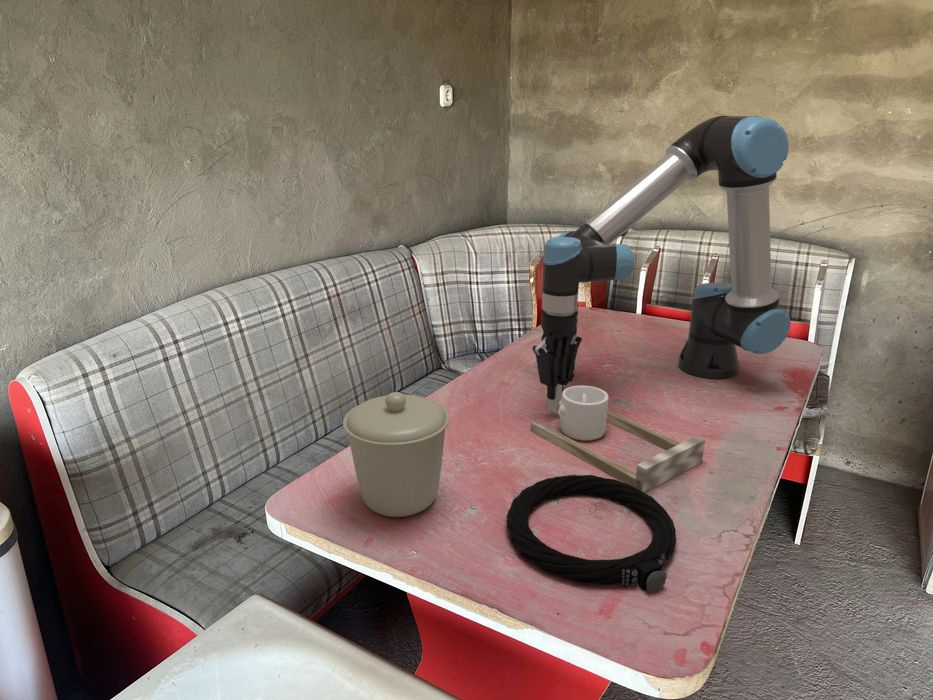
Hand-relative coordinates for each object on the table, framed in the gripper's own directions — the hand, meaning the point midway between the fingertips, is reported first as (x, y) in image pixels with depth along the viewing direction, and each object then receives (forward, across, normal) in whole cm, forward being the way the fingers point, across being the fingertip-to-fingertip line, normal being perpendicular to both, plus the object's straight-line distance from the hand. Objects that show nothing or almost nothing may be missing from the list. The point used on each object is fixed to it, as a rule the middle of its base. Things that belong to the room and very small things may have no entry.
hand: (554, 410), depth 149 cm
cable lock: (+2, +25, +36) cm, 44 cm away
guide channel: (+1, 0, +17) cm, 17 cm away
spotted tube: (+2, -16, -16) cm, 23 cm away
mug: (+2, 0, +8) cm, 9 cm away
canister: (+2, +46, +8) cm, 46 cm away
